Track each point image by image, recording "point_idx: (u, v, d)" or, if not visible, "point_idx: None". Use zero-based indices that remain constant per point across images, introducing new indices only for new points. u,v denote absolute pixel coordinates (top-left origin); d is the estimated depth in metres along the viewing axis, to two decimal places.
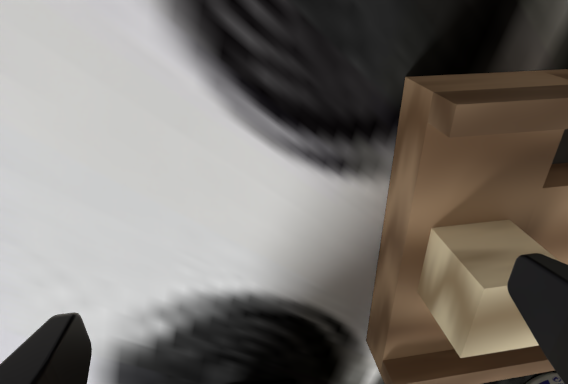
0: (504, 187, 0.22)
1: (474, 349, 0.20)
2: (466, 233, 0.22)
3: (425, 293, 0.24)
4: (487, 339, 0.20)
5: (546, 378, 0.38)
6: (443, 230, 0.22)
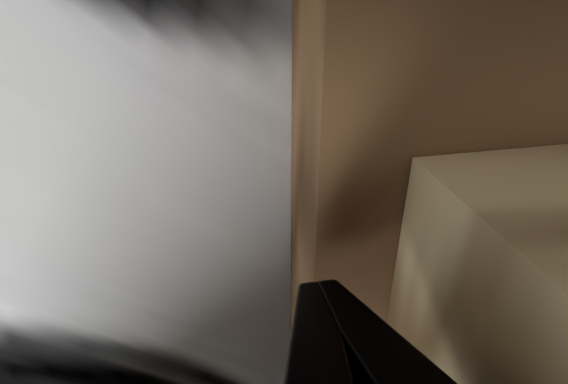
0: None
1: None
2: (514, 167, 0.07)
3: None
4: None
5: None
6: (446, 162, 0.08)
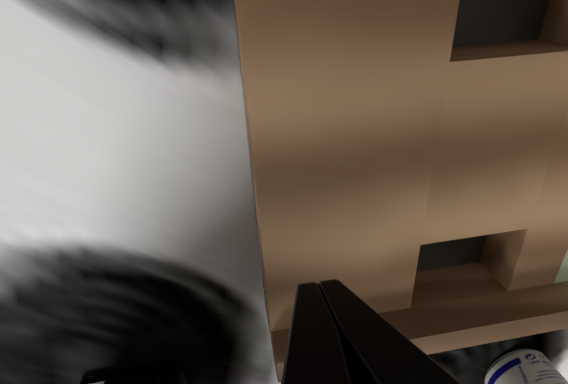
0: (388, 60, 0.15)
1: None
2: None
3: None
4: None
5: (517, 355, 0.31)
6: None
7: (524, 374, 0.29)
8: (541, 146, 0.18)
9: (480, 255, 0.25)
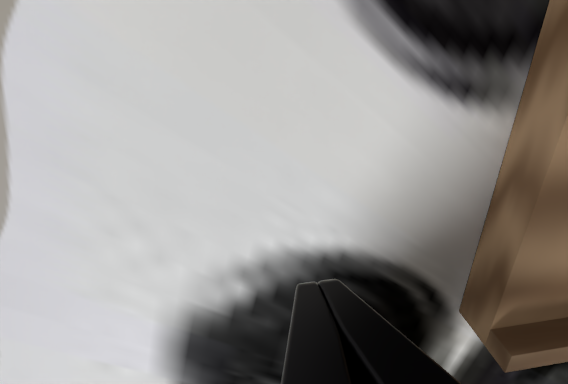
0: None
1: None
2: None
3: None
4: None
5: None
6: None
7: None
8: None
9: None
